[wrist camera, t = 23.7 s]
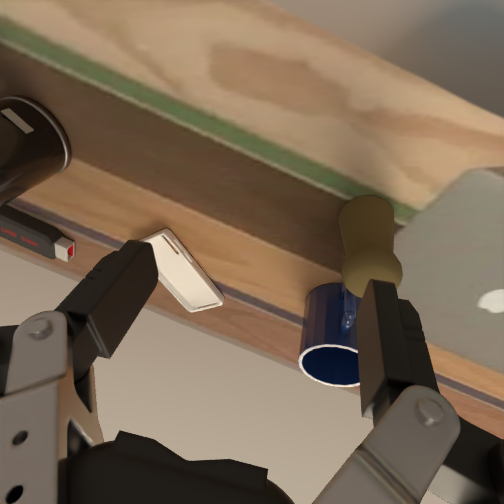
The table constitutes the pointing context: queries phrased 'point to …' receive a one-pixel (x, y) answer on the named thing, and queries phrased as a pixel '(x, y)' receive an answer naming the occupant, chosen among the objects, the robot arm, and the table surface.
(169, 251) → the phone case
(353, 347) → the mug
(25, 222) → the usb drive
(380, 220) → the olive pawn figure
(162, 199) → the table surface
